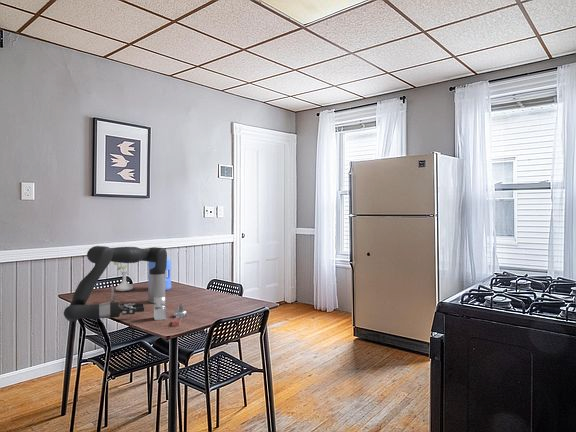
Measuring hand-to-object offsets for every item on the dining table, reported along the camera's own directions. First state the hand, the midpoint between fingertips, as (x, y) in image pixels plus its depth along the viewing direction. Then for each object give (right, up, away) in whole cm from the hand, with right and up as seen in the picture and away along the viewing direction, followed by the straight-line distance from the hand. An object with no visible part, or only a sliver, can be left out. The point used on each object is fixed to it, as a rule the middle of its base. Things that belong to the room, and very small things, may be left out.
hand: (143, 307), depth 214 cm
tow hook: (-28, -6, +27) cm, 39 cm away
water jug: (-16, -5, +80) cm, 82 cm away
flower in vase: (-40, -5, +74) cm, 84 cm away
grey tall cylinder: (+7, -6, +3) cm, 10 cm away
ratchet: (+18, -6, 0) cm, 19 cm away
